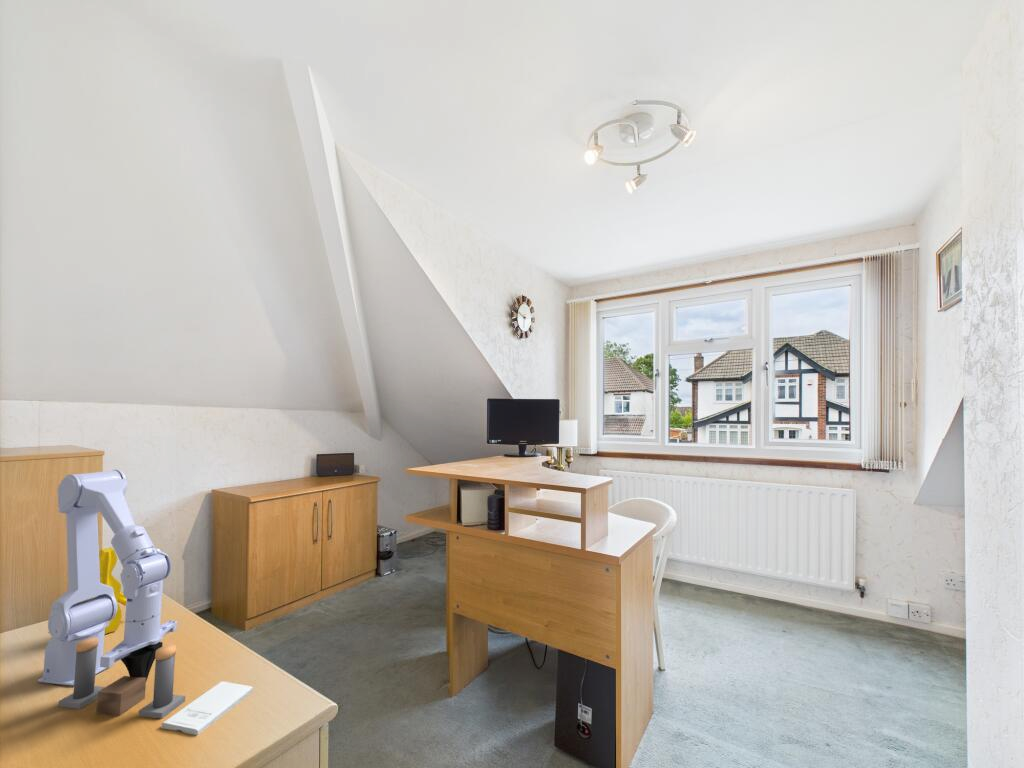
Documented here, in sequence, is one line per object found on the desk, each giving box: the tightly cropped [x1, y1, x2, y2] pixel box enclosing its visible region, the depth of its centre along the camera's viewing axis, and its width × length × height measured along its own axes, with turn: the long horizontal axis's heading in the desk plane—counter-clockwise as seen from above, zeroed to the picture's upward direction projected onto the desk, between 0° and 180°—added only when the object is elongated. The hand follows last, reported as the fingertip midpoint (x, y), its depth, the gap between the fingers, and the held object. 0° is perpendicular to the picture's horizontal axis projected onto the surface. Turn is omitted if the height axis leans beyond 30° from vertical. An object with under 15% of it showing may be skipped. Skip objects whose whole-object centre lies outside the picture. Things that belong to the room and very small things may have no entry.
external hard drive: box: [161, 680, 254, 736], centre depth 84 cm, size 2×8×12 cm
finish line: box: [57, 638, 186, 719], centre depth 86 cm, size 23×5×11 cm, turn 83°
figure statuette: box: [47, 547, 127, 635], centre depth 112 cm, size 18×8×22 cm, turn 147°
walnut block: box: [96, 675, 147, 717], centre depth 85 cm, size 5×5×4 cm
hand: (139, 683), depth 89 cm, fingers closed
